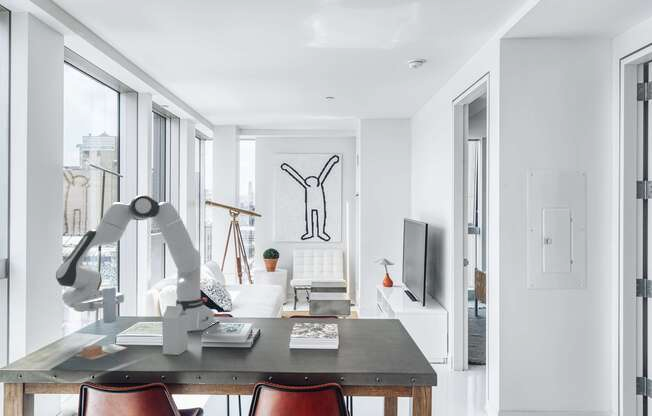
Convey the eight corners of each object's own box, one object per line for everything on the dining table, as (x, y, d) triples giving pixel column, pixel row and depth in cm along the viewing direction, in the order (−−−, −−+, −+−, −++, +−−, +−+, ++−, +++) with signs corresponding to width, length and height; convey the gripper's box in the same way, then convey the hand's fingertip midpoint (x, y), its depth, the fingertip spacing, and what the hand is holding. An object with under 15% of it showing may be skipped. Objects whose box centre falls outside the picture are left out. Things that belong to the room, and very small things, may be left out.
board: (111, 346, 194) (111, 343, 194) (127, 350, 188) (127, 347, 188) (74, 357, 180) (74, 355, 180) (91, 362, 174) (91, 359, 174)
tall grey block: (111, 319, 191) (110, 286, 190) (119, 320, 188) (118, 287, 188) (100, 322, 186) (99, 288, 186) (108, 323, 184) (107, 289, 184)
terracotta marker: (94, 351, 184) (94, 344, 184) (102, 353, 181) (102, 346, 181) (82, 355, 179) (82, 347, 179) (90, 357, 177) (90, 349, 177)
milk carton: (178, 355, 181) (177, 308, 180) (162, 354, 182) (161, 307, 182) (187, 349, 188) (186, 304, 187) (172, 348, 189) (171, 303, 189)
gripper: (66, 298, 185) (86, 301, 178) (112, 289, 202) (131, 291, 195) (67, 313, 185) (86, 317, 178) (112, 302, 202) (132, 306, 195)
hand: (110, 303), depth 187 cm, fingers closed on tall grey block, 5 cm apart
